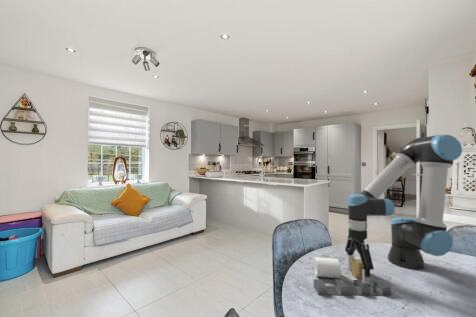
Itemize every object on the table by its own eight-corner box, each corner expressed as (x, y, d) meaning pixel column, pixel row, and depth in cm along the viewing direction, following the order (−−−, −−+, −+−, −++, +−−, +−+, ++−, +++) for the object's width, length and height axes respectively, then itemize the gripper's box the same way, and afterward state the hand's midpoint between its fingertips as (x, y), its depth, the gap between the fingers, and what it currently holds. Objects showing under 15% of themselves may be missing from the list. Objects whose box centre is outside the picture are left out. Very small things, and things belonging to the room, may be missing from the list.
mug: (341, 282, 98) (341, 263, 98) (317, 279, 100) (316, 261, 100) (335, 269, 110) (335, 252, 110) (313, 267, 112) (313, 251, 112)
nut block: (360, 274, 105) (360, 259, 105) (365, 278, 101) (364, 262, 101) (351, 274, 105) (351, 259, 105) (355, 278, 101) (355, 262, 101)
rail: (381, 287, 94) (381, 279, 94) (391, 295, 88) (391, 287, 88) (313, 286, 94) (313, 279, 94) (318, 294, 88) (318, 287, 88)
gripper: (337, 221, 116) (338, 263, 115) (364, 237, 91) (364, 291, 90) (352, 221, 116) (352, 263, 115) (383, 237, 91) (383, 291, 90)
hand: (358, 275), depth 103 cm, fingers open, 13 cm apart
